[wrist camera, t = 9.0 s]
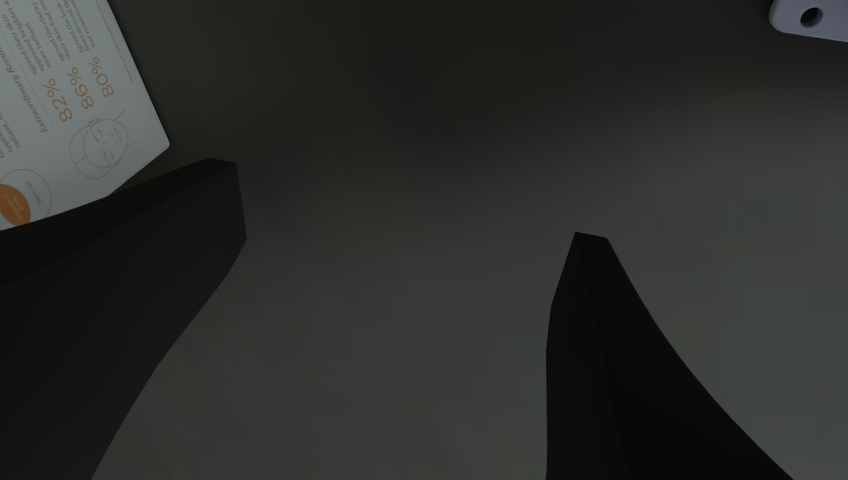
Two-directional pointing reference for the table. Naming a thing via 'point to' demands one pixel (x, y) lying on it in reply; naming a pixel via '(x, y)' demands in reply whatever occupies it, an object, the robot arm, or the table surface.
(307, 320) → the table surface
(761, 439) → the table surface
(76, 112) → the small box
